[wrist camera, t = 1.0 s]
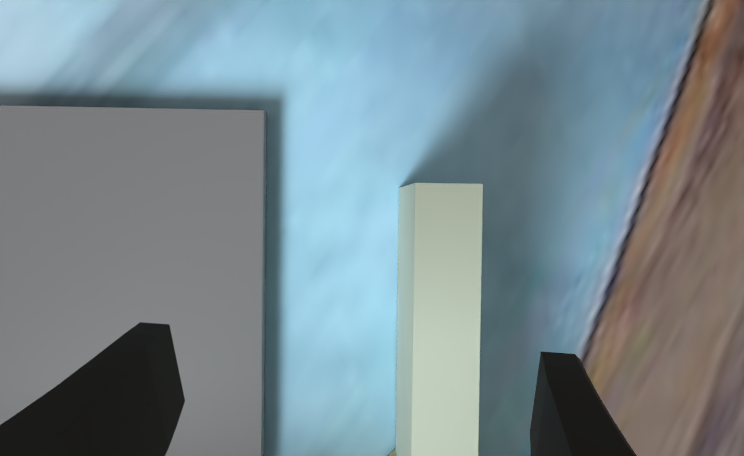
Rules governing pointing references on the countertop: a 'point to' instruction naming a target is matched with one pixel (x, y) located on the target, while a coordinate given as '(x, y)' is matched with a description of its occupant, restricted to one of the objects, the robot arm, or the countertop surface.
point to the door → (438, 319)
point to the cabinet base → (137, 255)
